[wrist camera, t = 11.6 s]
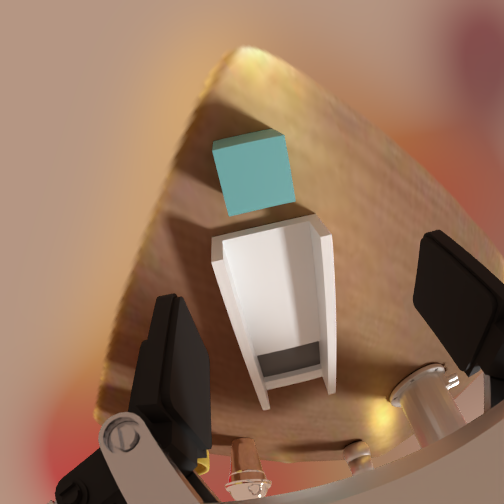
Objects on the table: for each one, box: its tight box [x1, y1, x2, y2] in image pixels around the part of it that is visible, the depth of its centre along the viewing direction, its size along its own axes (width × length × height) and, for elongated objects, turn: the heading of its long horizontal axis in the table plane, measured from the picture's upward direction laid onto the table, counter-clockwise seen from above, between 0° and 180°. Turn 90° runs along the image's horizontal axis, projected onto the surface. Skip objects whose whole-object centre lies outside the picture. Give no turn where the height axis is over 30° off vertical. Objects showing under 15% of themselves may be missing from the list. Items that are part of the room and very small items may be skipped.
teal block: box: [212, 129, 295, 216], centre depth 22 cm, size 5×5×5 cm
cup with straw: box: [225, 438, 271, 501], centre depth 41 cm, size 8×9×20 cm
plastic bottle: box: [343, 441, 374, 476], centre depth 50 cm, size 6×7×20 cm
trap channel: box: [211, 214, 336, 410], centre depth 32 cm, size 10×24×4 cm, turn 12°
